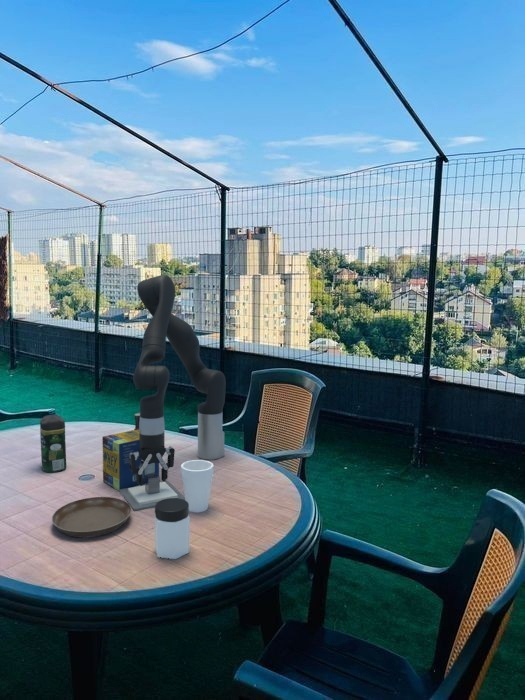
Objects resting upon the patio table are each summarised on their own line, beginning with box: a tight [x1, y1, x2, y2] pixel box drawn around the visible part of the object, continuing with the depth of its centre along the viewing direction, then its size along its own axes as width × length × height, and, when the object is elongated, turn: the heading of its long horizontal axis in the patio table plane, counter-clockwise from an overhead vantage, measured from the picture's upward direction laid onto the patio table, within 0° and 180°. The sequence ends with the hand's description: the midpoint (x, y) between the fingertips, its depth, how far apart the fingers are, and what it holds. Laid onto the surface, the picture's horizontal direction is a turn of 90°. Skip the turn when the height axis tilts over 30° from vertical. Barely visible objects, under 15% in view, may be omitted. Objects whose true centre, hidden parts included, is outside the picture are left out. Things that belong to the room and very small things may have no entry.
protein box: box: [102, 429, 160, 492], centre depth 173 cm, size 10×15×16 cm
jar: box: [154, 498, 191, 560], centre depth 130 cm, size 9×8×12 cm
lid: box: [128, 473, 178, 505], centre depth 162 cm, size 12×12×6 cm
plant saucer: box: [51, 496, 133, 538], centre depth 144 cm, size 21×21×3 cm
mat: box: [119, 480, 185, 512], centre depth 163 cm, size 16×16×1 cm
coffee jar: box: [39, 414, 67, 473], centre depth 183 cm, size 10×8×19 cm
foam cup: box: [180, 459, 215, 513], centre depth 154 cm, size 10×9×13 cm
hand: (152, 482), depth 162 cm, fingers open, 6 cm apart
